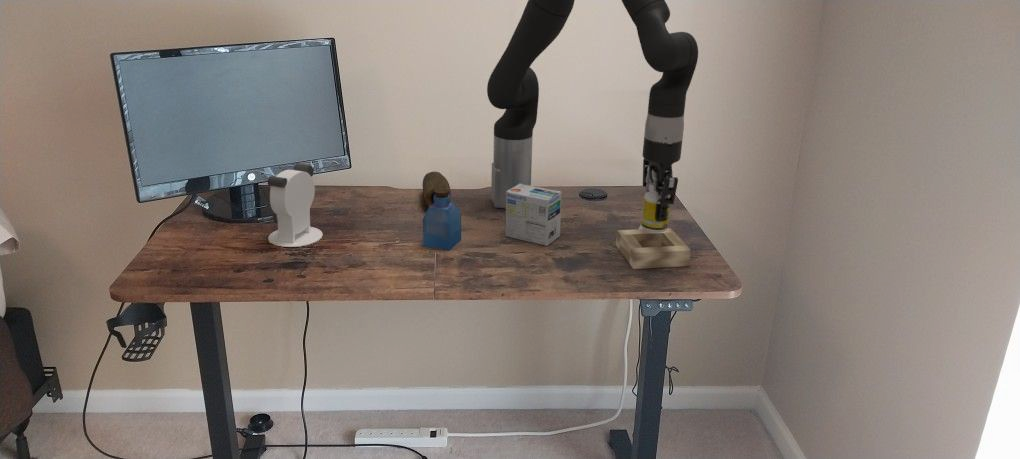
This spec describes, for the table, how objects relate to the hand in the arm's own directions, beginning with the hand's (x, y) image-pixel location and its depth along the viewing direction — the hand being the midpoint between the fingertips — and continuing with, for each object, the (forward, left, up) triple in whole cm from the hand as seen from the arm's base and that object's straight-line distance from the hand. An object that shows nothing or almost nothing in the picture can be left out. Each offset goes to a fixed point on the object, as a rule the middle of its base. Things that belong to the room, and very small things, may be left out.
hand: (655, 214), depth 161 cm
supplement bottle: (0, 0, -3) cm, 3 cm away
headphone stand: (-74, +19, -9) cm, 77 cm away
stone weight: (-42, +37, -9) cm, 57 cm away
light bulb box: (-23, +13, -9) cm, 28 cm away
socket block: (0, 0, -9) cm, 9 cm away
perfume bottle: (-43, +12, -9) cm, 46 cm away
